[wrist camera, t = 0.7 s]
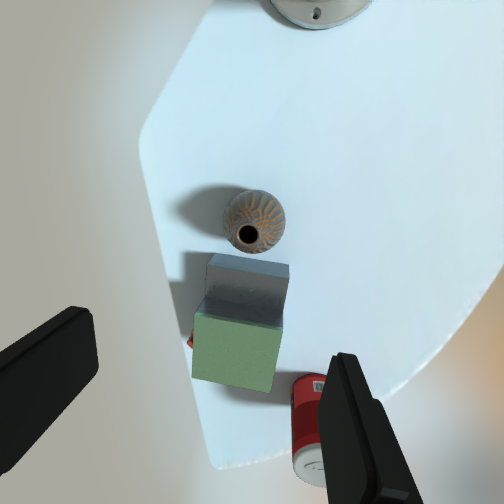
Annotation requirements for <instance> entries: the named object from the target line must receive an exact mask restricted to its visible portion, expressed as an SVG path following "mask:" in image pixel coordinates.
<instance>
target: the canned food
mask: <svg viewBox="0 0 504 504" xmlns="http://www.w3.org/2000/svg"><path fill="white" fill-rule="evenodd" d="M325 380H326V376H325V375H322V374H308V375H305V376H302V377H300V378H299V379H297V380H296V381H295V383H294V384H293V387H292V390H291V426H292V462H293V469H294V472H295V473H296V475H297V476H298V477H299V478H300V479H301V480H303V481H304V482H306V483H308V484H311V485H313V486H317V487H322V488H326V480H325V473H324V466H323V458H322V451H321V444H320V436H319V429H318V422H317V408H318V404H319V401H320V397H321V394H322V390H323V387H324V383H325Z"/></svg>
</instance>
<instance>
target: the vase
mask: <svg viewBox="0 0 504 504" xmlns="http://www.w3.org/2000/svg"><path fill="white" fill-rule="evenodd" d="M223 228H224V232H225V235H226V237H227V239H228V240H229V242H230V243H231V244H232V245H233V246H234V247H235V248H237V249H238V250H240V251H242V252H245V253H250V254H257V253H262V252H265V251H267V250H269V249H271V248H272V247H273V246H275V245H276V244H277V243H278V241H279V240H280V239H281V237H282V235H283V233H284V229H285V213H284V210H283V208H282V206H281V204H280V202H279V201H278V200H277V199H276V198H275V197H274V196H273V195H271V194H270V193H268V192H265V191H262V190H248V191H245V192H242V193H240V194H238V195H237V196H235V197H234V198H233V199H232V200H231V201H230V202H229V204H228V205H227V207H226V209H225V212H224V216H223Z"/></svg>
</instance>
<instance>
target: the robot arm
mask: <svg viewBox="0 0 504 504" xmlns="http://www.w3.org/2000/svg"><path fill="white" fill-rule="evenodd" d="M373 1H374V0H271V2H272V4H273V5H274V6H275V7H276V9H277V10H278V11H279V12H280V13H281V14H282V15H283V16H284V17H286V18H287V19H288V20H290V21H291V22H292V23H295V24H297V25H299V26H302V27H304V28H311V29H327V28H332V27H335V26H338V25H341V24H344V23H346V22H347V21H349V20H351V19H353V18H355V17H356V16H357V15H359V14H360V13H361V12H362V11H364V10H365V9H366V8H367V7H368V6H369V5H370V4H371V3H372V2H373ZM315 15H316V16H317V17H318V19H316V20H315V19H313V16H315ZM98 368H99V364H98V356H97V348H96V340H95V331H94V324H93V316H92V314H91V313H90V311H89V310H88V309H87V308H82V307H76V306H70V307H68V308H66V309H65V310H64V311H62V312H60V313H59V314H57V315H56V316H54V317H53V318H51V319H50V320H48V321H47V322H45V323H44V324H42V325H41V326H39V327H37V328H36V329H34V330H33V331H31V332H30V333H29V334H27V335H25V336H24V337H22V338H21V339H19V340H18V341H16V342H15V343H13V344H12V345H10V346H9V347H7V348H6V349H4V350H3V351H1V352H0V476H1V475H2V474H3V473H6V472H8V471H9V470H10V469H11V468H12V467H14V465H15V464H16V463H17V462H18V461H19V460H20V459H21V458H22V457H23V455H24V454H25V453H26V452H27V451H28V450H29V449H30V448H31V447H32V445H33V444H34V443H35V442H36V441H37V440H38V439H39V438H40V436H41V435H42V434H43V433H44V432H45V431H46V430H47V429H48V427H49V426H50V425H51V424H52V423H53V422H54V421H55V420H56V419H57V417H58V416H59V415H60V414H61V413H62V412H63V411H64V409H66V407H67V406H68V405H69V404H70V403H71V402H72V401H73V400H74V399H75V397H76V396H77V395H78V394H79V393H80V392H81V391H82V390H83V388H84V387H85V386H86V385H87V384H88V383H89V382H90V380H92V378H93V377H94V376H95V375H96V373H97V371H98ZM317 422H318V429H319V436H320V444H321V451H322V458H323V466H324V473H325V480H326V488H327V495H328V502H329V504H423V501H422V498H421V496H420V494H419V491H418V489H417V487H416V484H415V482H414V479H413V477H412V474H411V472H410V470H409V467H408V465H407V463H406V460H405V458H404V455H403V453H402V451H401V448H400V446H399V444H398V441H397V439H396V437H395V434H394V431H393V429H392V427H391V424H390V422H389V419H388V417H387V415H386V412H385V410H384V408H383V406H382V404H381V402H380V401H379V400H378V399H373V397H372V395H371V392H370V390H369V387H368V384H367V382H366V379H365V377H364V374H363V372H362V369H361V366H360V364H359V361H358V359H357V357H356V355H353V354H347V353H342V352H339V353H338V354H337V356H334V355H333V356H332V358H331V362H330V366H329V369H328V373H327V376H326V380H325V383H324V387H323V390H322V394H321V397H320V401H319V404H318V408H317Z"/></svg>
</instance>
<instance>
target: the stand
mask: <svg viewBox="0 0 504 504" xmlns="http://www.w3.org/2000/svg"><path fill="white" fill-rule="evenodd" d="M288 283H289V265H287V264H281V263H275V262H269V261H262V260H256V259H250V258H244V257H238V256H231V255H225V254H219V253H215V254H214V256H213V257H212V258H211V260H210V261H209V262H208V264H207V271H206V287H205V297H204V299H203V301H202V303H201V304H200V306H199V308H198V310H197V311H196V313H195V315H194V328H193V330H192V332H191V337H190V338H189V340H188V341H187V344H188V345H189V346H190V347H191V348H192V349H193V357H192V378H195V379H200V380H206V381H211V382H216V383H221V384H226V385H231V386H236V387H241V388H246V389H251V390H256V391H261V392H266V393H270V391H271V387H272V382H273V377H274V372H275V367H276V362H277V358H278V353H279V348H280V343H281V338H282V333H283V308H284V303H285V298H286V293H287V288H288Z"/></svg>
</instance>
